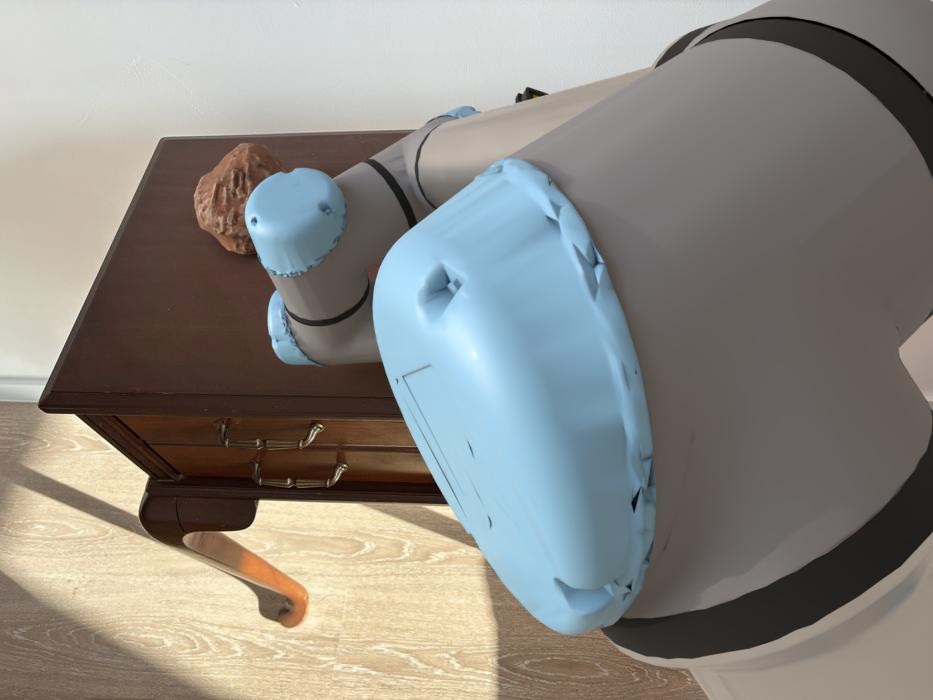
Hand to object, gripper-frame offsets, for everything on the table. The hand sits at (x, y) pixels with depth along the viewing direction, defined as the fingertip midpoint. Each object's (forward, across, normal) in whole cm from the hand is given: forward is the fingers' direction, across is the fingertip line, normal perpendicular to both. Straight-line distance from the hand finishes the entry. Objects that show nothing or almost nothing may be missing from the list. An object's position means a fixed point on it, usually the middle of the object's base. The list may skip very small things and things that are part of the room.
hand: (685, 304), depth 61 cm
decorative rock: (-45, -22, -9) cm, 51 cm away
